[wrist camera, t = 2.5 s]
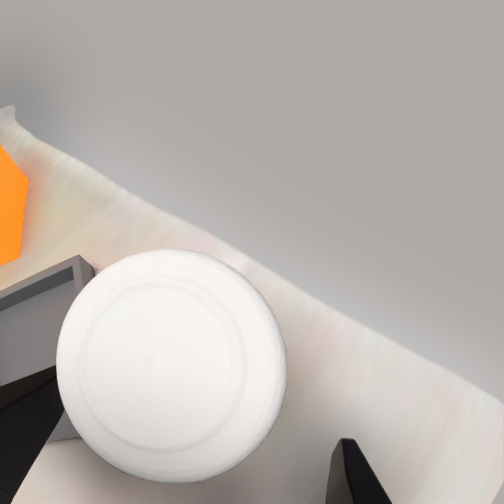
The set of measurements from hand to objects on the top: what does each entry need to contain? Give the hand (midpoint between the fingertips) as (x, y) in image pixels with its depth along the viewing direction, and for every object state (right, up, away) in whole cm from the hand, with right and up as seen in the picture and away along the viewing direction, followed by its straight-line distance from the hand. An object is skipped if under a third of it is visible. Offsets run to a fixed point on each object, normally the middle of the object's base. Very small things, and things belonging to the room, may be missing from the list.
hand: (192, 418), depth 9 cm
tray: (-12, -3, +9) cm, 15 cm away
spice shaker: (+1, -3, +9) cm, 9 cm away
